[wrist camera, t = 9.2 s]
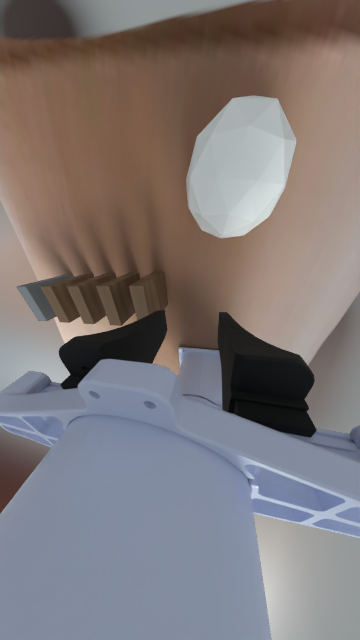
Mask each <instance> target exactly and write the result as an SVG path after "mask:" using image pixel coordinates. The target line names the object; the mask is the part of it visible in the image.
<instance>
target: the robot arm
mask: <svg viewBox="0 0 360 640" xmlns="http://www.w3.org/2000/svg"><path fill="white" fill-rule="evenodd" d="M166 332H167V324H166V316H165V311H163V310H158V311H155V312H153V313H151V314H149V315H147V316H146V317H144V318H142V319H140V320H137V321H135V322H133V323H131V324H128V325H126V326H123V327H120V328H117V329H114V330H110V331H106V332H102V333H97V334H92V335H85V336H77V337H74V338H73V339H71V340H70V341H68V342H67V343H65V344H64V345H63V346H62V347H61V348H60V350H59V356H60V358H61V360H62V362H63V363H64V365H65V366H66V368H67V369H68V371H69V372H70V374H71V375H70V376H69V377H68V378H67V379H66V380H65V381H63V383H55V382H51V380H50V378H49V377H48V376H47V375H46V374H44V373H40V372H34V371H29V372H27V373H26V374H25V375H23V376H22V377H20V378H19V379H18V380H16V381H15V382H13V383H12V384H11V385H9V386H8V387H6V388H5V389H4V390H2V391H1V392H0V426H1V427H2V428H4V429H6V430H7V431H8V432H10V433H13V434H16V435H20V436H22V437H25V438H28V439H31V440H33V441H36V442H39V443H41V444H44V445H46V446H49V447H51V449H50V451H49V452H48V453H47V455H46V456H45V457H44V458H43V460H42V461H41V462H40V463H39V465H38V466H37V467H36V469H35V470H34V471H33V473H32V474H31V475H30V476H29V478H28V479H27V480H26V482H25V483H24V484H23V485H22V487H21V488H20V489H19V491H18V492H17V493H16V494H15V496H14V497H13V498H12V500H11V501H10V502H9V504H8V505H7V506H6V507H5V509H4V510H3V511H2V512H1V514H0V640H271V633H270V626H269V619H268V612H267V605H266V598H265V591H264V584H263V577H262V570H261V563H260V556H259V549H258V542H257V535H256V528H255V522H254V514H258V515H263V516H267V517H272V518H276V519H280V520H285V521H289V522H293V523H298V524H302V525H306V526H311V527H315V528H319V529H324V530H328V531H333V532H337V533H341V534H345V535H350V536H354V537H358V538H360V426H357V427H354V428H353V429H352V431H351V432H350V434H347V433H341V432H336V431H330V430H324V429H318V428H315V426H314V424H313V422H312V421H311V419H310V417H309V415H308V413H307V410H308V409H309V408H308V405H307V403H306V402H305V400H304V399H305V397H306V396H307V394H308V393H309V391H310V389H311V388H312V386H313V384H314V381H315V380H314V375H313V373H312V371H311V370H310V368H309V367H308V366H307V364H306V363H305V361H304V360H303V359H302V358H301V357H300V355H297V354H294V353H291V352H289V351H286V350H283V349H280V348H278V347H275V346H273V345H271V344H268V343H266V342H264V341H262V340H261V339H259V338H257V337H255V336H254V335H252V334H251V333H249V332H248V331H246V330H245V329H244V328H242V327H241V326H240V325H239V324H238V323H237V322H236V321H235V320H234V319H233V318H232V317H231V316H230V315H229V314H228V313H227V312H219V324H218V347H219V350H210V349H198V348H187V347H179V349H178V352H179V362H180V369H179V373H178V377H177V375H176V374H175V373H173V372H172V371H171V370H170V369H168V368H167V367H164V366H160V365H157V364H152V363H153V360H154V358H155V356H156V354H157V352H158V350H159V348H160V346H161V344H162V342H163V340H164V338H165V335H166ZM183 349H184V350H183ZM253 513H254V514H253Z"/></svg>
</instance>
